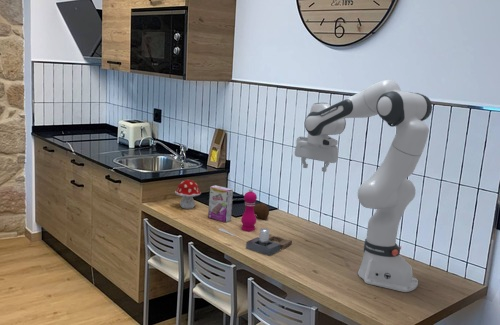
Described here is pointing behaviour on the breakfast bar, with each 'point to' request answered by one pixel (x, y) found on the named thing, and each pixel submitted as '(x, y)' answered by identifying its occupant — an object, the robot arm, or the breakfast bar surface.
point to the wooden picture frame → (280, 241)
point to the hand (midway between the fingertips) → (314, 169)
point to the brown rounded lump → (261, 210)
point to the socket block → (263, 247)
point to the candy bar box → (220, 203)
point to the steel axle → (264, 237)
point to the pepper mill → (249, 211)
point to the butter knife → (226, 231)
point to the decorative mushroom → (187, 193)
